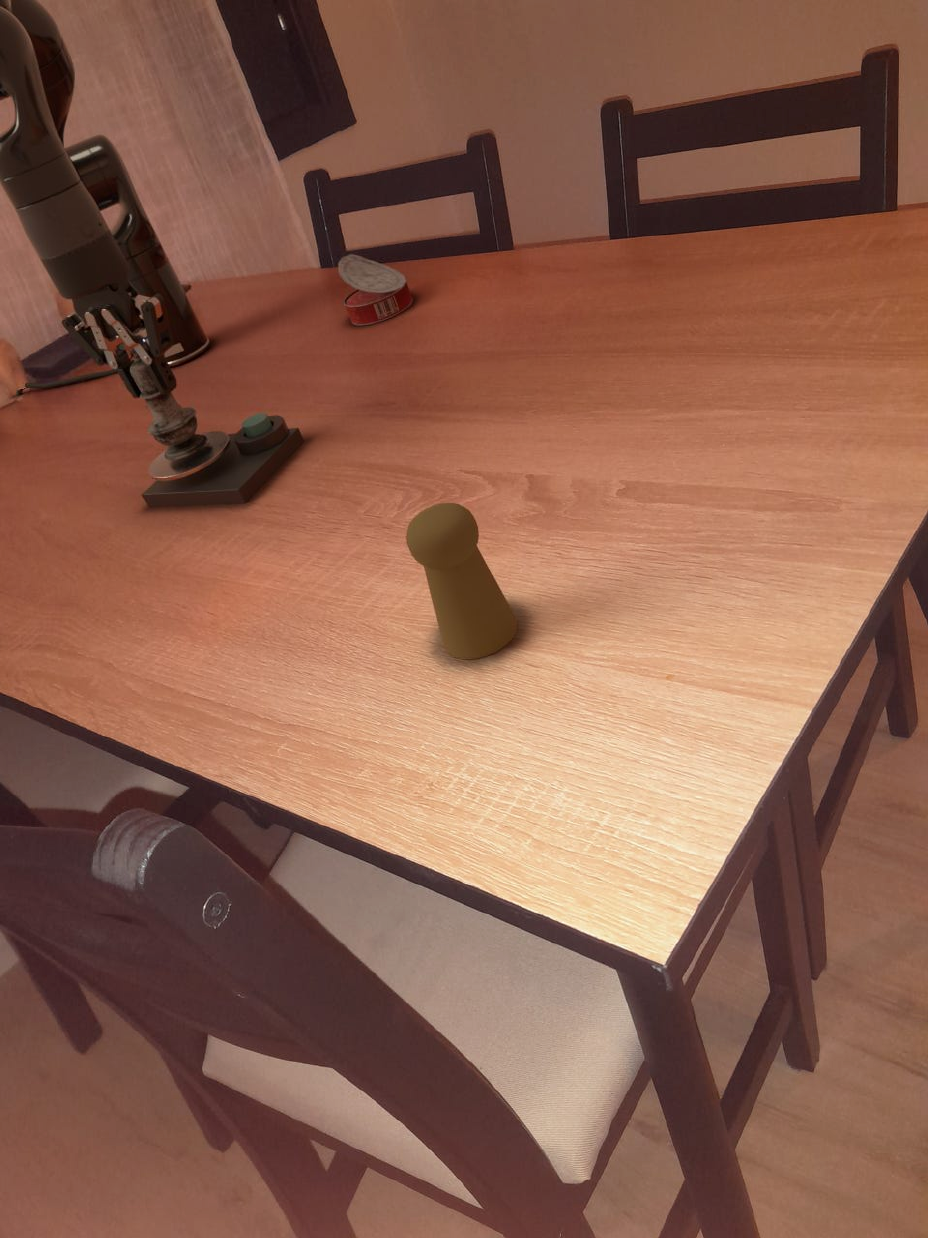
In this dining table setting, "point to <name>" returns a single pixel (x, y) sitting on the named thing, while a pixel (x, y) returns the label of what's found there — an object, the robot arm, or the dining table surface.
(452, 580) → the pawn piece
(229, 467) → the scale
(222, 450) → the scale pan
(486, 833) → the dining table surface
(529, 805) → the dining table surface
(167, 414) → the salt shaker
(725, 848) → the dining table surface
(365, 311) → the canned food
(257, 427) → the tare button
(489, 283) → the dining table surface
